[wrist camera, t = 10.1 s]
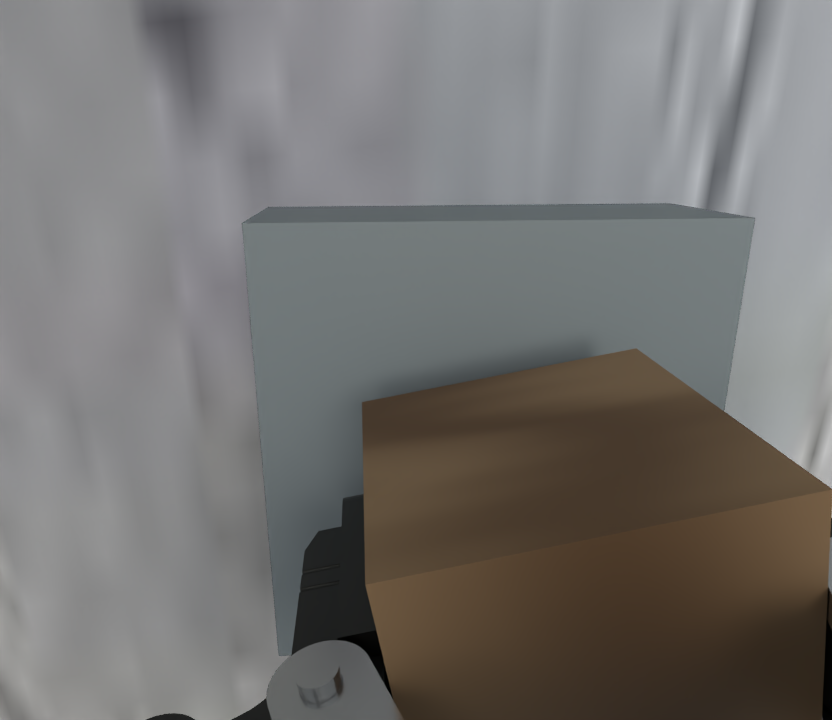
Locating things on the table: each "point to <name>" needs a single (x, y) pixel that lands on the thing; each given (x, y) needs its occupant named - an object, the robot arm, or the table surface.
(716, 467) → the walnut block
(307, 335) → the slate base block
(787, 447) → the table surface
